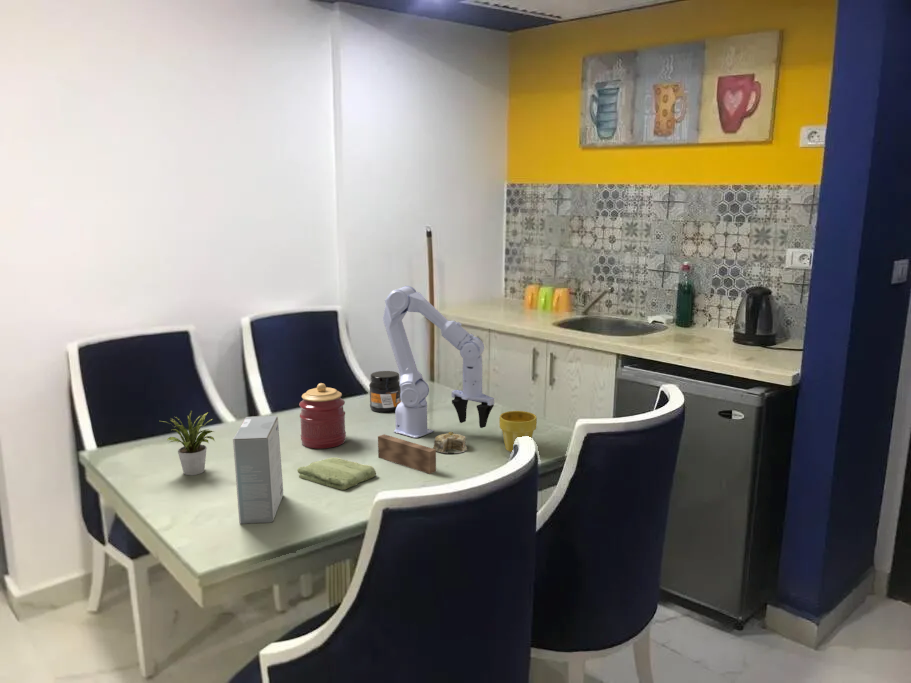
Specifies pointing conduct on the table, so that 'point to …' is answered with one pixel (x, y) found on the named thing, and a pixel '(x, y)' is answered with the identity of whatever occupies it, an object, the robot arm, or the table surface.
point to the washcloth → (337, 473)
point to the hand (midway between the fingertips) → (472, 424)
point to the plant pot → (516, 426)
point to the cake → (450, 443)
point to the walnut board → (407, 453)
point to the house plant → (192, 446)
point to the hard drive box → (258, 469)
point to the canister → (322, 418)
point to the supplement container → (384, 391)
